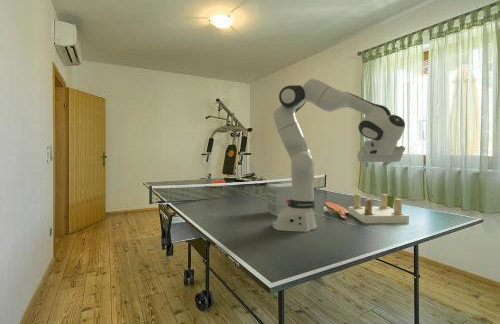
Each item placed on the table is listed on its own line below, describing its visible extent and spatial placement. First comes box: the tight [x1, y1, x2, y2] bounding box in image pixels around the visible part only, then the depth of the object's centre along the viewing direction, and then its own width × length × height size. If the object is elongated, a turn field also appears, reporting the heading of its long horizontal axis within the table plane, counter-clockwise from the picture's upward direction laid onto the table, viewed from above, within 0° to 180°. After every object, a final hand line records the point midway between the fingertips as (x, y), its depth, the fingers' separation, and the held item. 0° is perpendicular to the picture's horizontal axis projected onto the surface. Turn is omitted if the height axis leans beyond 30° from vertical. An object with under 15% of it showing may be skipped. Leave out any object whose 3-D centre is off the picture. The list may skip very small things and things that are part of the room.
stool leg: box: [364, 198, 373, 215], centre depth 152 cm, size 4×4×11 cm
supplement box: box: [267, 182, 292, 217], centre depth 172 cm, size 17×13×18 cm
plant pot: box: [379, 195, 397, 209], centre depth 179 cm, size 9×9×9 cm
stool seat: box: [347, 193, 410, 224], centre depth 160 cm, size 24×24×12 cm
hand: (374, 165), depth 139 cm, fingers open, 8 cm apart
